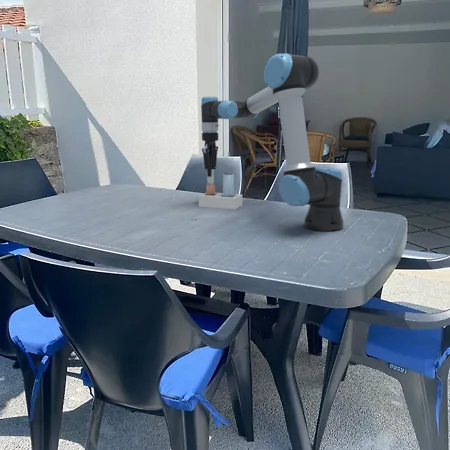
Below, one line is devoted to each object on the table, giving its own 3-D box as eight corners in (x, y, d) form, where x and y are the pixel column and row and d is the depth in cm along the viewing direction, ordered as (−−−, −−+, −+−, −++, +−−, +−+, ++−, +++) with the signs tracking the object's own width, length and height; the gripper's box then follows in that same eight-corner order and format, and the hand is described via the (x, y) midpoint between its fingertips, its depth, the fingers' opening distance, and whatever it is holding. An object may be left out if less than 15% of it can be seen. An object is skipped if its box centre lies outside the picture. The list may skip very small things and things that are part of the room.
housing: (234, 211, 194) (234, 198, 192) (198, 208, 201) (198, 195, 199) (242, 207, 203) (242, 194, 201) (207, 204, 209) (207, 191, 208)
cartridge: (231, 207, 197) (231, 173, 193) (221, 206, 199) (221, 172, 194) (235, 205, 201) (235, 171, 197) (225, 204, 203) (225, 171, 199)
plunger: (213, 197, 200) (212, 185, 198) (205, 196, 201) (204, 185, 200) (216, 195, 203) (216, 184, 202) (208, 195, 205) (208, 183, 203)
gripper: (211, 132, 187) (212, 186, 193) (223, 131, 199) (223, 181, 205) (196, 132, 190) (197, 184, 196) (208, 131, 202) (209, 180, 208)
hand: (210, 183), depth 201 cm, fingers closed
